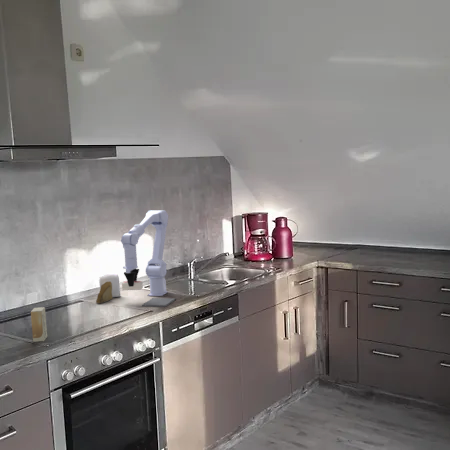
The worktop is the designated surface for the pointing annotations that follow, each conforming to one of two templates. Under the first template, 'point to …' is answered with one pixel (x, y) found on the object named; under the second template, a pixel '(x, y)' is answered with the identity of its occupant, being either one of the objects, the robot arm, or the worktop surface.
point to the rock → (105, 293)
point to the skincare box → (39, 324)
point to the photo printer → (115, 283)
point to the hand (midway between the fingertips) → (132, 285)
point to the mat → (158, 302)
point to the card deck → (137, 286)
